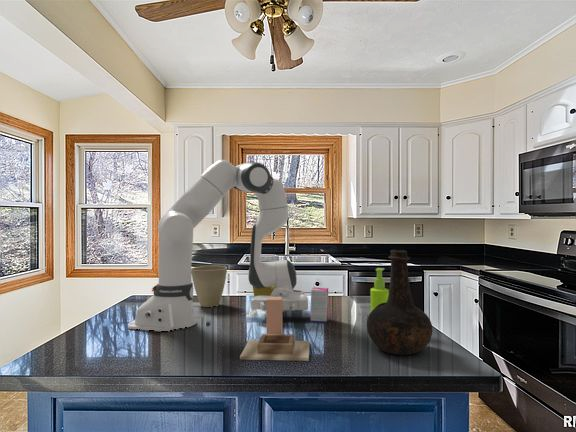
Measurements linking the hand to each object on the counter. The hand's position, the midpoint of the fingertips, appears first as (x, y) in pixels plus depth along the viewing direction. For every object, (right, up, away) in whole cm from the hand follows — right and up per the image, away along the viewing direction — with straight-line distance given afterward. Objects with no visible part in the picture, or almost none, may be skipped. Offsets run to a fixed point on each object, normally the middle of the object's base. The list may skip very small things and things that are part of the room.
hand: (277, 308), depth 135 cm
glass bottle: (+34, -7, -23) cm, 42 cm away
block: (-1, -6, -11) cm, 13 cm away
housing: (0, -6, -24) cm, 25 cm away
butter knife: (-11, -7, +12) cm, 18 cm away
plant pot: (-30, -7, +33) cm, 45 cm away
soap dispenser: (+34, -6, -2) cm, 35 cm away
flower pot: (-6, -7, +32) cm, 33 cm away
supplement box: (+15, -7, +8) cm, 18 cm away
